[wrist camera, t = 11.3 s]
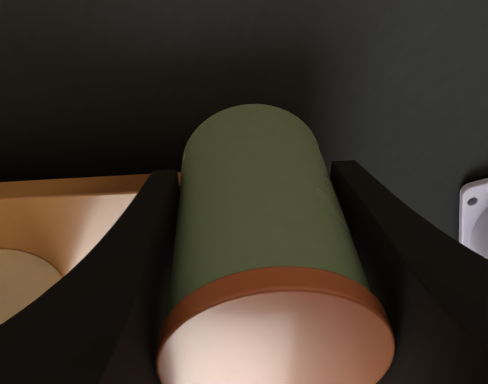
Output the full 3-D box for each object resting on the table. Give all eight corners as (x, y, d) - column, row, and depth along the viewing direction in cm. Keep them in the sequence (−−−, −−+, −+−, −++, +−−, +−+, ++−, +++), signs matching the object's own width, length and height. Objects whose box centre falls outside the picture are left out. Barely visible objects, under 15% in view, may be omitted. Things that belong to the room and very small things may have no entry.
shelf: (309, 128, 20) (335, 200, 15) (299, 265, 25) (316, 345, 21) (-74, 149, 19) (-152, 229, 15) (1, 284, 25) (-41, 369, 20)
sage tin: (333, 200, 14) (403, 400, 9) (206, 232, 14) (203, 438, 9) (307, 79, 11) (385, 260, 6) (155, 124, 12) (111, 325, 7)
